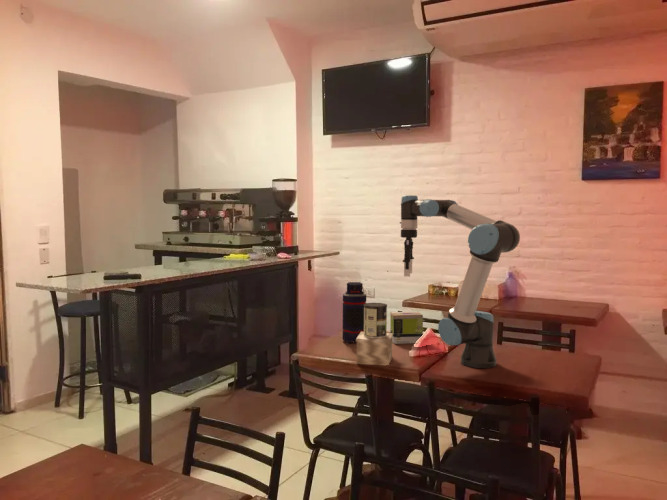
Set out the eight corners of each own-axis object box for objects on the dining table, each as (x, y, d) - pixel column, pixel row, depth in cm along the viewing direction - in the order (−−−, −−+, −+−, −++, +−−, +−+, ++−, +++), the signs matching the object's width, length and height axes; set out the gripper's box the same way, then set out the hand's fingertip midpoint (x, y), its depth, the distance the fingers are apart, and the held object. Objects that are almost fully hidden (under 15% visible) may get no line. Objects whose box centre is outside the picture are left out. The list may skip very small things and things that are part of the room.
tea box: (418, 339, 292) (419, 311, 291) (423, 344, 282) (423, 314, 281) (389, 339, 291) (390, 311, 290) (393, 344, 281) (393, 314, 280)
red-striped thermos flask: (366, 344, 280) (367, 284, 278) (342, 344, 280) (343, 284, 278) (364, 338, 294) (365, 280, 292) (341, 337, 294) (342, 280, 292)
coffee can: (385, 333, 255) (386, 302, 254) (387, 338, 245) (387, 306, 244) (362, 333, 255) (363, 302, 254) (363, 338, 245) (364, 306, 244)
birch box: (392, 357, 256) (393, 333, 256) (389, 365, 242) (389, 340, 241) (360, 355, 259) (361, 331, 258) (355, 363, 245) (355, 338, 244)
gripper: (403, 228, 273) (402, 271, 275) (398, 229, 249) (397, 277, 251) (418, 228, 272) (417, 272, 273) (415, 230, 247) (414, 278, 249)
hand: (408, 274), depth 262 cm, fingers open, 13 cm apart
